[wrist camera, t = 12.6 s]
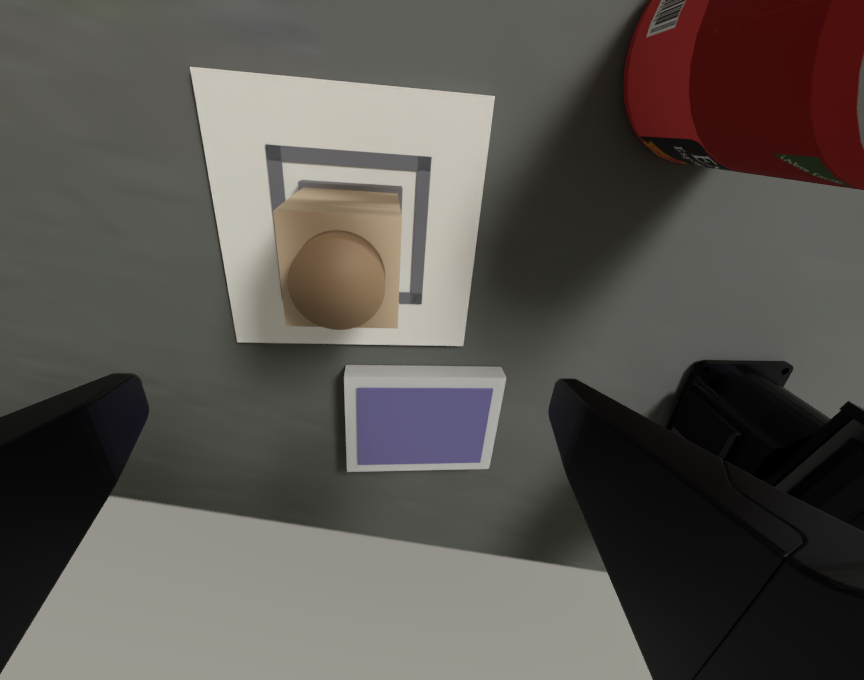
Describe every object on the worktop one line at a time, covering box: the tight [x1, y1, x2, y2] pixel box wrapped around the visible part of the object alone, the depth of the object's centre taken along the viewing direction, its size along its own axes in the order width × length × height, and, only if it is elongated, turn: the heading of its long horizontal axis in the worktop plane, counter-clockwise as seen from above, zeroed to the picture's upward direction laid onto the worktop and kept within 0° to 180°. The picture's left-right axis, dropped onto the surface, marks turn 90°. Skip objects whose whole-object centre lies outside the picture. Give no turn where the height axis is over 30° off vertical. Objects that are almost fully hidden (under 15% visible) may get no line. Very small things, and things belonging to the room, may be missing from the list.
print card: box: [190, 67, 495, 346], centre depth 19 cm, size 12×12×1 cm
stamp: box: [273, 180, 402, 330], centre depth 16 cm, size 4×4×7 cm
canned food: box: [623, 0, 864, 190], centre depth 13 cm, size 8×8×11 cm
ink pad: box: [344, 365, 506, 472], centre depth 24 cm, size 9×7×1 cm
